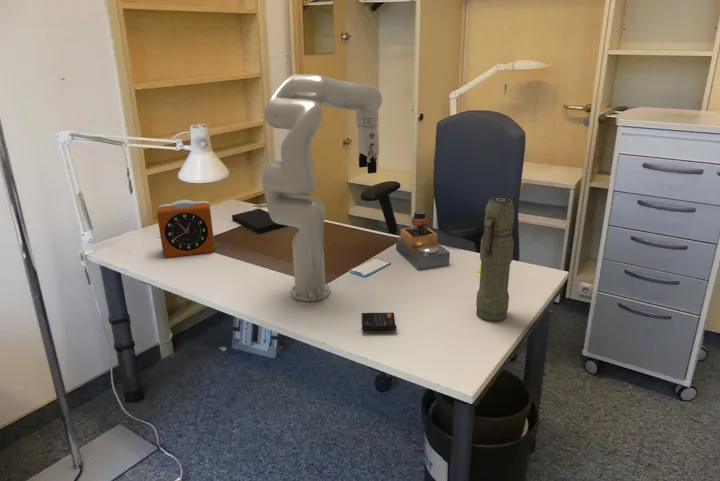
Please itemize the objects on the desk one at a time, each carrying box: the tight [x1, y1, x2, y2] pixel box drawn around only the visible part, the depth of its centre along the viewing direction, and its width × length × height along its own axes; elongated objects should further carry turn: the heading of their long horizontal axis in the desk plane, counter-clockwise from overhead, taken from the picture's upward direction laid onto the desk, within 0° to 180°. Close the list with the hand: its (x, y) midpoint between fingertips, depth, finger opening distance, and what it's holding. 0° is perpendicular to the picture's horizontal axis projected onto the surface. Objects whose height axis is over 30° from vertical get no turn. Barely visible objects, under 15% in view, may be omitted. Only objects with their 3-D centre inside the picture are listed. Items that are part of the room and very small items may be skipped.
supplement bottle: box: [410, 209, 429, 237], centre depth 198 cm, size 6×6×11 cm
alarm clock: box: [156, 199, 215, 259], centre depth 203 cm, size 18×9×21 cm, turn 105°
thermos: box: [475, 196, 515, 323], centre depth 152 cm, size 9×12×35 cm
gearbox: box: [395, 227, 450, 271], centre depth 197 cm, size 20×12×9 cm, turn 18°
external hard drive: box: [231, 208, 289, 235], centre depth 236 cm, size 14×23×3 cm, turn 40°
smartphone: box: [349, 257, 391, 278], centre depth 191 cm, size 8×1×15 cm
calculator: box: [361, 312, 397, 330], centre depth 154 cm, size 9×12×3 cm
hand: (367, 170), depth 197 cm, fingers open, 9 cm apart
